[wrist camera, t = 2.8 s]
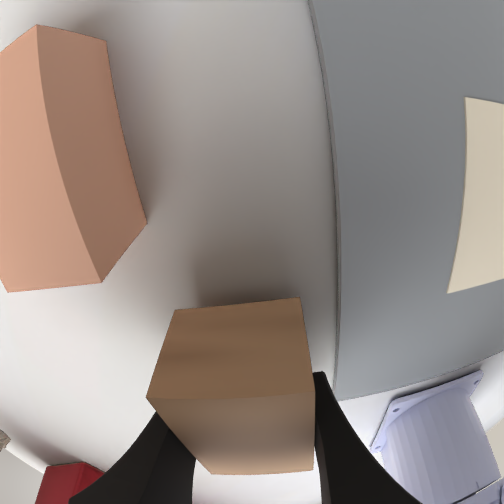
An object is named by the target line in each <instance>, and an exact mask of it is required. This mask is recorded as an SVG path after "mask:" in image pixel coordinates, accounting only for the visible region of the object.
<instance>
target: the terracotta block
mask: <svg viewBox="0 0 504 504" xmlns="http://www.w3.org/2000/svg"><path fill="white" fill-rule="evenodd" d="M146 225H147V220H146V217H145V214H144V211H143V207H142V204H141V201H140V197H139V194H138V190H137V187H136V183H135V179H134V176H133V172H132V168H131V164H130V160H129V156H128V152H127V148H126V144H125V140H124V136H123V131H122V127H121V122H120V118H119V113H118V108H117V103H116V98H115V93H114V88H113V82H112V77H111V71H110V64H109V58H108V51H107V44H106V41H104V40H101V39H97V38H94V37H90V36H86V35H83V34H79V33H75V32H71V31H66V30H62V29H57V28H53V27H48V26H42V25H37V24H36V25H35V26H33V27H32V28H31V29H29V30H28V31H27V32H25V33H24V34H23V35H21V36H20V37H19V38H17V39H16V40H15V41H14V42H12V43H11V44H10V45H9V46H7V47H6V48H5V49H4V50H3V51H1V52H0V279H1V281H2V283H3V285H4V287H5V289H6V291H7V292H8V293H9V292H19V291H29V290H39V289H49V288H59V287H68V286H77V285H87V284H96V283H102V282H103V280H104V279H105V277H106V276H107V275H108V273H109V272H110V271H111V269H112V268H113V267H114V265H115V264H116V263H117V261H118V260H119V259H120V257H121V256H122V255H123V253H124V252H125V251H126V250H127V248H128V247H129V246H130V244H131V243H132V242H133V241H134V239H135V238H136V237H137V236H138V234H139V233H140V232H141V231H142V229H143V228H144V227H145V226H146Z"/></svg>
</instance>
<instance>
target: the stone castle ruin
mask: <svg viewBox="0 0 504 504" xmlns="http://www.w3.org/2000/svg"><path fill="white" fill-rule="evenodd" d="M10 440H11V439H10V438H9V437H8V436H7V435H6V434H5V433H4V432H3V431H2V430H0V451H1V450H2V448H6V445H7V444H8V443H9V442H10Z"/></svg>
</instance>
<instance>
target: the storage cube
mask: <svg viewBox="0 0 504 504" xmlns="http://www.w3.org/2000/svg"><path fill="white" fill-rule="evenodd" d="M103 474H105V472H103V471H101V470H99V469H97V468H95V467H93V466H91V465H89V464H87V463H85V462H80V463H73V464H65V465H56V466H47V468H46V470H45V473H44V476H43V480H42V483H41V486H40V489H39V492H38V495H37V499H36V502H35V504H68V501H69V498H71V497H72V496H74V495H76V494H77V493H79V492H80V491H82V490H84V489H85V488H87V487H88V486H89V485H91V484H92V483H93V482H95V481H96V480H97V479H98V478H100V477H101V476H102V475H103Z"/></svg>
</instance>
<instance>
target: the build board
mask: <svg viewBox="0 0 504 504" xmlns="http://www.w3.org/2000/svg"><path fill="white" fill-rule="evenodd" d="M308 3H309V8H310V12H311V17H312V21H313V26H314V31H315V36H316V41H317V46H318V52H319V57H320V63H321V69H322V75H323V82H324V88H325V95H326V103H327V110H328V118H329V127H330V136H331V146H332V157H333V168H334V182H335V197H336V216H337V246H338V309H337V338H336V357H335V372H334V385H333V394H334V396H335V398H336V400H337V401H343V400H348V399H353V398H358V397H363V396H368V395H372V394H377V393H381V392H385V391H389V390H393V389H397V388H401V387H404V386H408V385H412V384H415V383H418V382H422V381H425V380H428V379H431V378H435V377H438V376H441V375H444V374H446V373H449V372H452V371H455V370H458V369H460V368H463V367H466V366H468V365H471V364H473V363H476V362H478V361H481V360H483V359H486V358H488V357H490V356H492V355H495V354H497V353H499V352H501V351H504V0H308Z"/></svg>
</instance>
